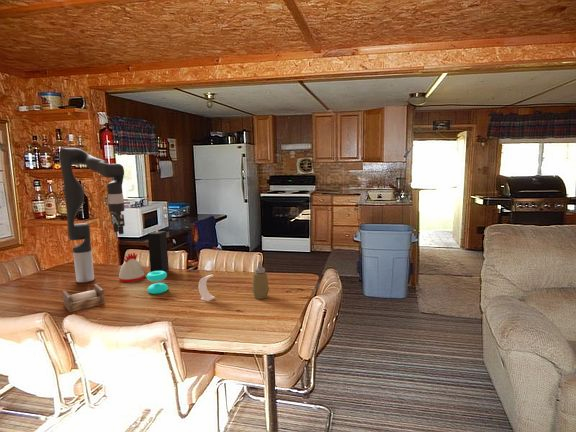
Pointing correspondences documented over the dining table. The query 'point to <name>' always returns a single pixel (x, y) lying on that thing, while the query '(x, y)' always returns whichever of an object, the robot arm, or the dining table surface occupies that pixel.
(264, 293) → the squeeze bottle
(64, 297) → the roll cradle
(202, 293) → the white curved piece
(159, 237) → the black rectangular block
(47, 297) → the dining table surface
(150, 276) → the teal stacked discs
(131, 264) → the beanie hat
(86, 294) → the paper roll
